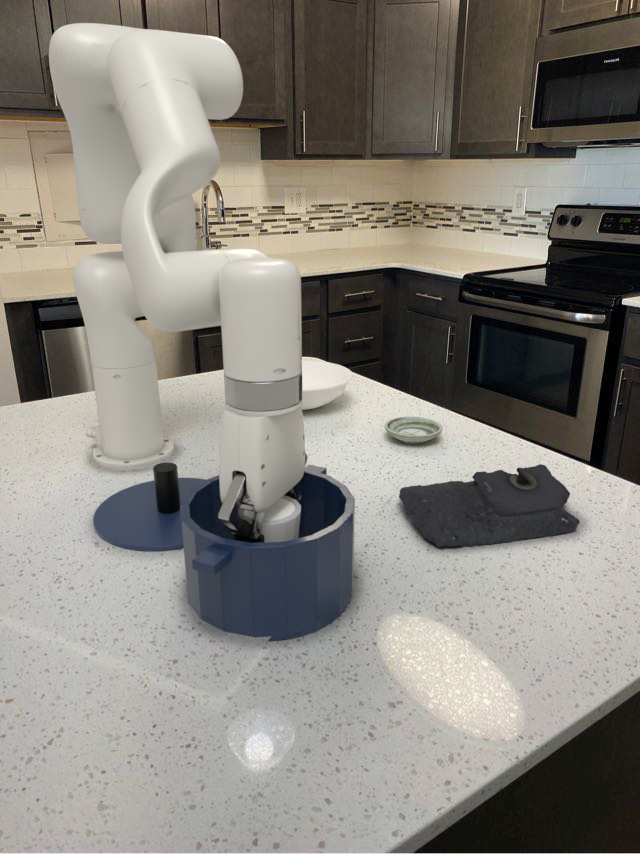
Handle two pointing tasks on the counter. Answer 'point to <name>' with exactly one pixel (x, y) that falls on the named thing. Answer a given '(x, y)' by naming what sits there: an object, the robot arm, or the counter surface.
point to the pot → (271, 563)
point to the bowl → (322, 382)
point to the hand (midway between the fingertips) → (269, 547)
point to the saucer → (413, 429)
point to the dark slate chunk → (490, 508)
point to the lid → (146, 512)
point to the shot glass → (279, 520)
